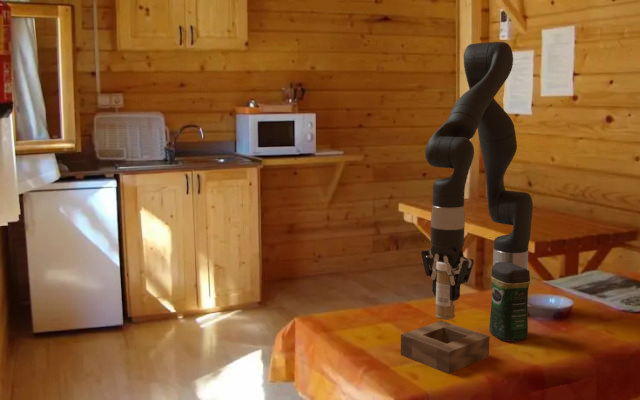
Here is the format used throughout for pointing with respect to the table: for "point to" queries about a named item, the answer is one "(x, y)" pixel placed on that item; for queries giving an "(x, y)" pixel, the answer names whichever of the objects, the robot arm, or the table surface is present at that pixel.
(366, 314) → the table surface
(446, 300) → the sprinkles bottle
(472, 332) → the well block
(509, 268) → the coffee jar
